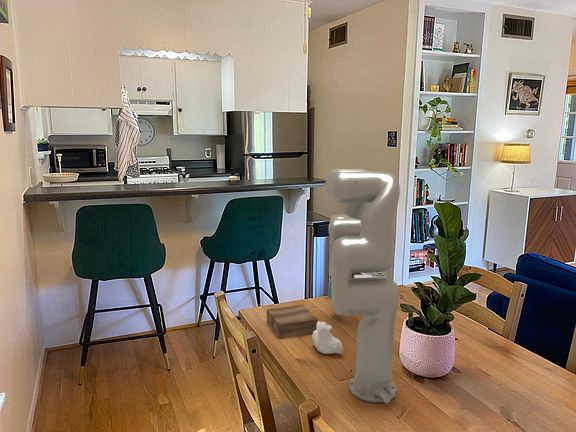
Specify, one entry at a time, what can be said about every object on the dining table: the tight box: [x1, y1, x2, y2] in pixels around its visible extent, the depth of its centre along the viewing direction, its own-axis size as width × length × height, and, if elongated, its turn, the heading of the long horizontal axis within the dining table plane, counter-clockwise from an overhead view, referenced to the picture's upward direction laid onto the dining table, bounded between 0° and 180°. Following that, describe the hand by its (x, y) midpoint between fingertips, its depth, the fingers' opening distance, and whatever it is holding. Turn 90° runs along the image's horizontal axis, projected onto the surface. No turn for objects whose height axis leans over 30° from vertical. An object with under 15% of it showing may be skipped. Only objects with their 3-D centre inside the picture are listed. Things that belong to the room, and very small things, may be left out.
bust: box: [311, 320, 344, 355], centre depth 144 cm, size 12×8×11 cm
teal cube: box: [327, 281, 332, 301], centre depth 168 cm, size 6×6×6 cm
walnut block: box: [266, 304, 319, 340], centre depth 162 cm, size 14×14×5 cm
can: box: [368, 271, 388, 278], centre depth 189 cm, size 8×8×12 cm
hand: (338, 296), depth 169 cm, fingers closed on teal cube, 6 cm apart
